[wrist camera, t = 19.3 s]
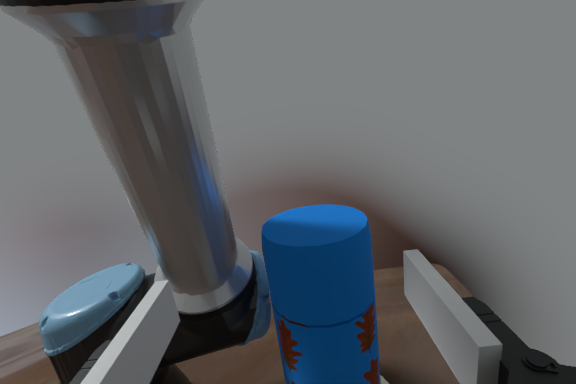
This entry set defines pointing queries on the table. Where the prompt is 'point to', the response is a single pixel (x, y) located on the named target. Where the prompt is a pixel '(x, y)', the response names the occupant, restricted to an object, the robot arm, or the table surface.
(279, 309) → the thermos
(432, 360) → the table surface
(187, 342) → the robot arm
